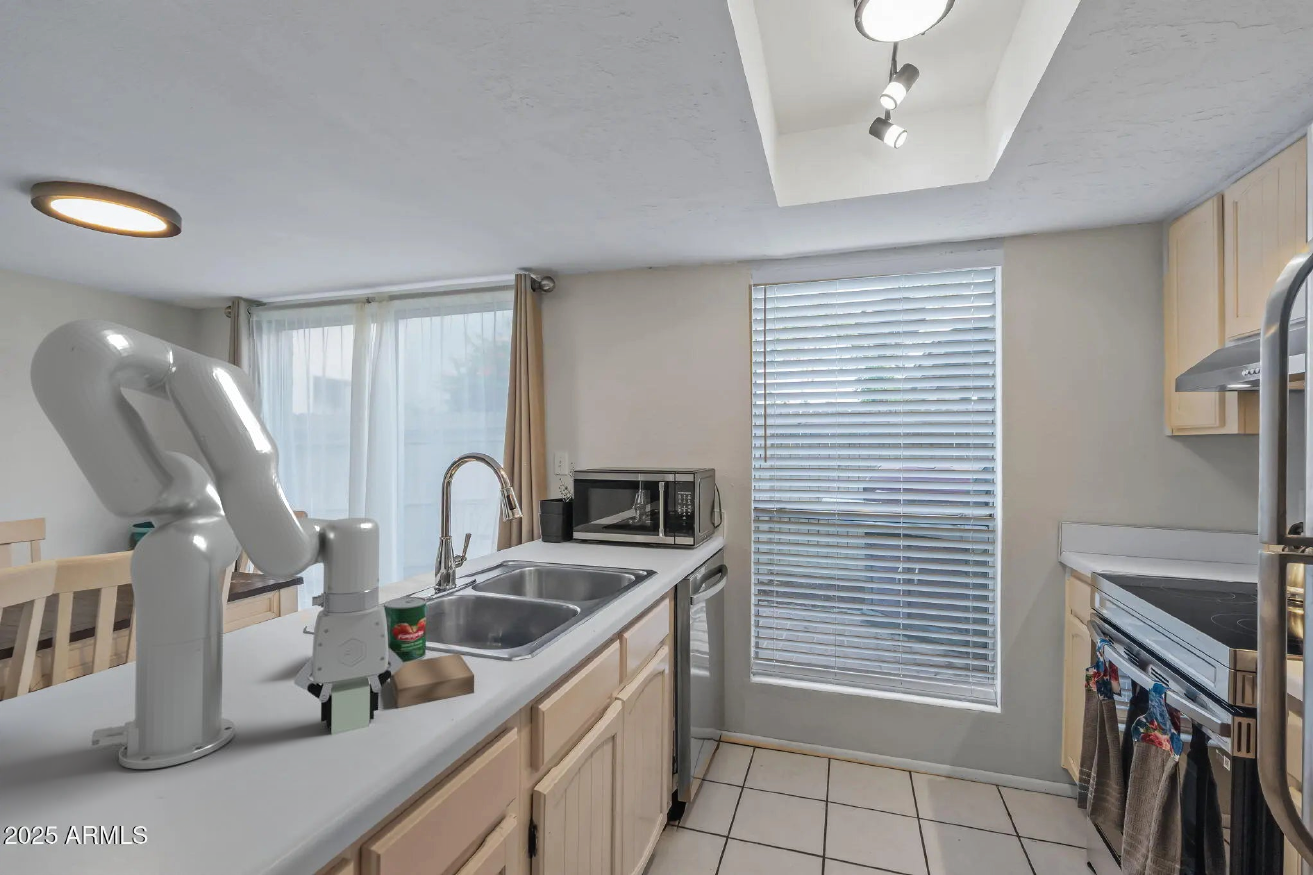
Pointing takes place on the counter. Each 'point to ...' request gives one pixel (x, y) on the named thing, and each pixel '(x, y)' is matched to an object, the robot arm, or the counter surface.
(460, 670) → the walnut base
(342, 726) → the sage block
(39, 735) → the counter surface
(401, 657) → the canned tomato
